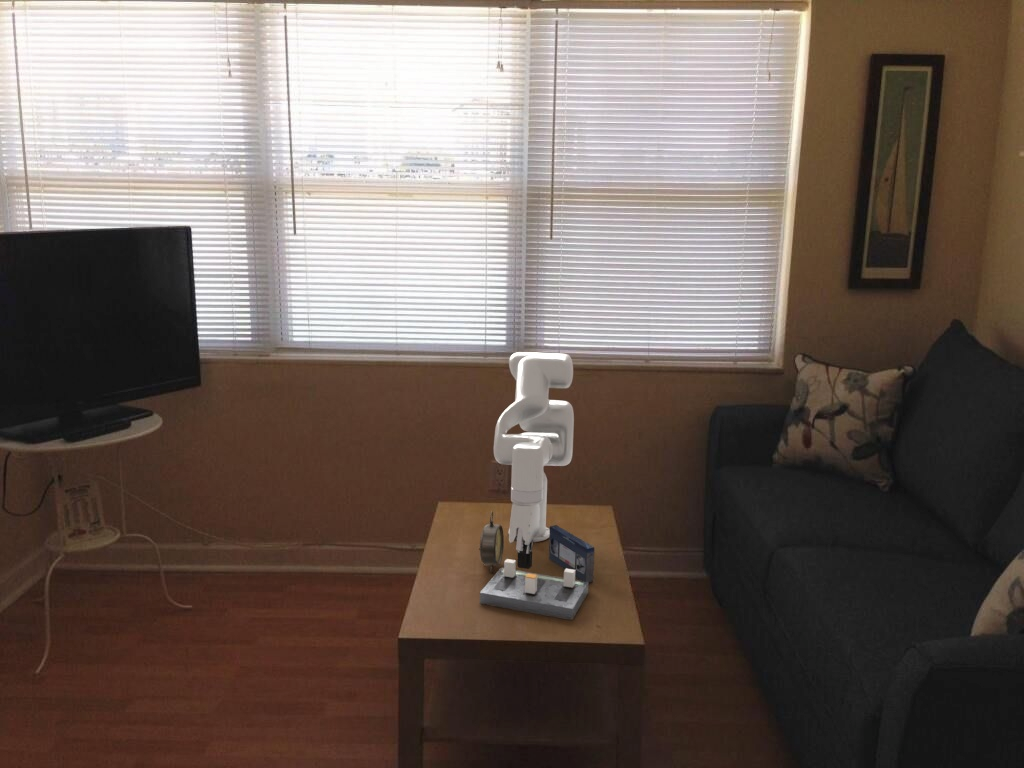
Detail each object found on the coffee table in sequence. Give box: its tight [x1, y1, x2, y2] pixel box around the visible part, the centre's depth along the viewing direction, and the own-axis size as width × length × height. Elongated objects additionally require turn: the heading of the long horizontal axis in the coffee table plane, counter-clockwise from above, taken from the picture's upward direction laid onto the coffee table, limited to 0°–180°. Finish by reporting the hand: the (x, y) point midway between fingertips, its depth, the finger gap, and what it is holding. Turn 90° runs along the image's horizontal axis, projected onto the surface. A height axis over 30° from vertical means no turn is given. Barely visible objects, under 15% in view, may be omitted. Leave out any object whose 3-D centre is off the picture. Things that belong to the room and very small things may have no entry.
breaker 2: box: [563, 568, 576, 588], centre depth 232 cm, size 2×2×4 cm
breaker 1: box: [503, 558, 517, 578], centre depth 237 cm, size 2×2×4 cm
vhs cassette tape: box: [548, 524, 595, 583], centre depth 248 cm, size 18×3×10 cm, turn 29°
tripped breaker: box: [525, 573, 537, 594], centre depth 228 cm, size 2×2×4 cm
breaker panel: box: [479, 567, 590, 621], centre depth 232 cm, size 16×24×3 cm, turn 71°
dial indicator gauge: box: [478, 510, 505, 574], centre depth 248 cm, size 11×5×16 cm, turn 168°
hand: (524, 566), depth 220 cm, fingers closed
